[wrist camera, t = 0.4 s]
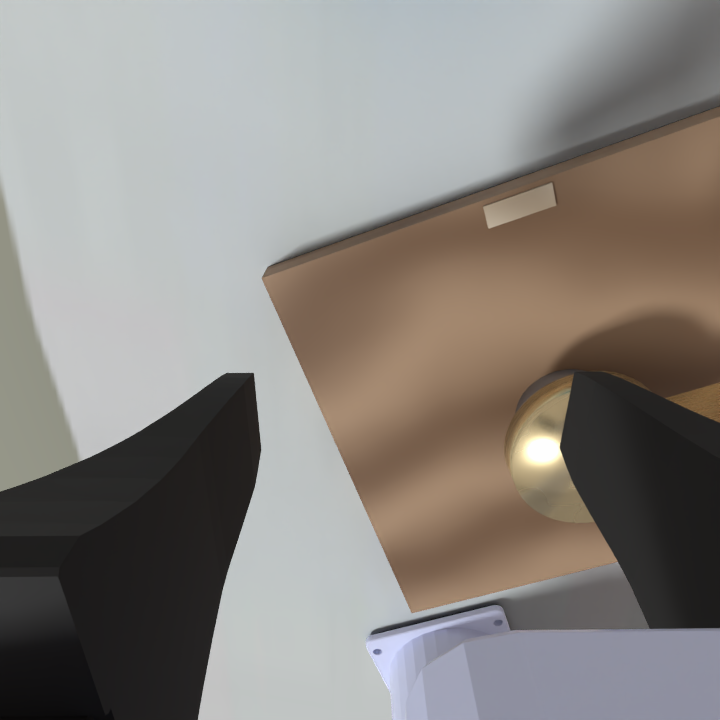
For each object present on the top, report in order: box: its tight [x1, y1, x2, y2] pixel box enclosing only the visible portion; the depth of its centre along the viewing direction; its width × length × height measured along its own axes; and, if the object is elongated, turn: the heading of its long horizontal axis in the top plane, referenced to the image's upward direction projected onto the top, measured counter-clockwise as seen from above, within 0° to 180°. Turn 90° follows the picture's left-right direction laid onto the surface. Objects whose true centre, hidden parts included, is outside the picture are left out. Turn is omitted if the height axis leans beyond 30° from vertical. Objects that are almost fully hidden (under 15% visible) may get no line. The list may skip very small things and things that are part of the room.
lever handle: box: [504, 371, 720, 523], centre depth 19 cm, size 11×6×2 cm, turn 109°
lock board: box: [262, 106, 720, 613], centre depth 22 cm, size 19×19×4 cm
